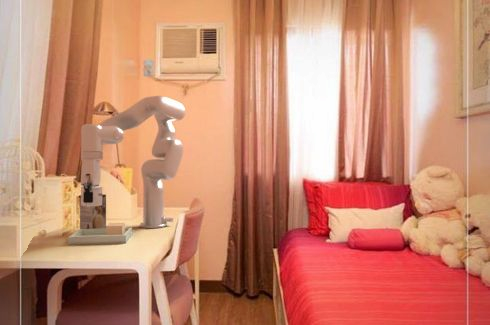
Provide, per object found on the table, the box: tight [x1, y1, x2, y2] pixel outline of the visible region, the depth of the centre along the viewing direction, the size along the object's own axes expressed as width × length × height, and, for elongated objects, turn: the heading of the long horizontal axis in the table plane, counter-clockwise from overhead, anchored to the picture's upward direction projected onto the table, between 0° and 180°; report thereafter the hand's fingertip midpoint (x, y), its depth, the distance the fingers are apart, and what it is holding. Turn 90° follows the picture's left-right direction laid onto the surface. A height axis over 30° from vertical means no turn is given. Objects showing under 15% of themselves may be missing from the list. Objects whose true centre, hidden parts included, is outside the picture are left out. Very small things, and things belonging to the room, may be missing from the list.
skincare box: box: [80, 185, 103, 207], centre depth 125 cm, size 6×6×7 cm
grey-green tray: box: [67, 227, 133, 246], centre depth 126 cm, size 20×14×3 cm
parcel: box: [106, 222, 126, 235], centre depth 127 cm, size 6×6×5 cm
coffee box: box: [79, 194, 107, 230], centre depth 139 cm, size 9×6×16 cm
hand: (91, 201), depth 125 cm, fingers closed on skincare box, 8 cm apart
